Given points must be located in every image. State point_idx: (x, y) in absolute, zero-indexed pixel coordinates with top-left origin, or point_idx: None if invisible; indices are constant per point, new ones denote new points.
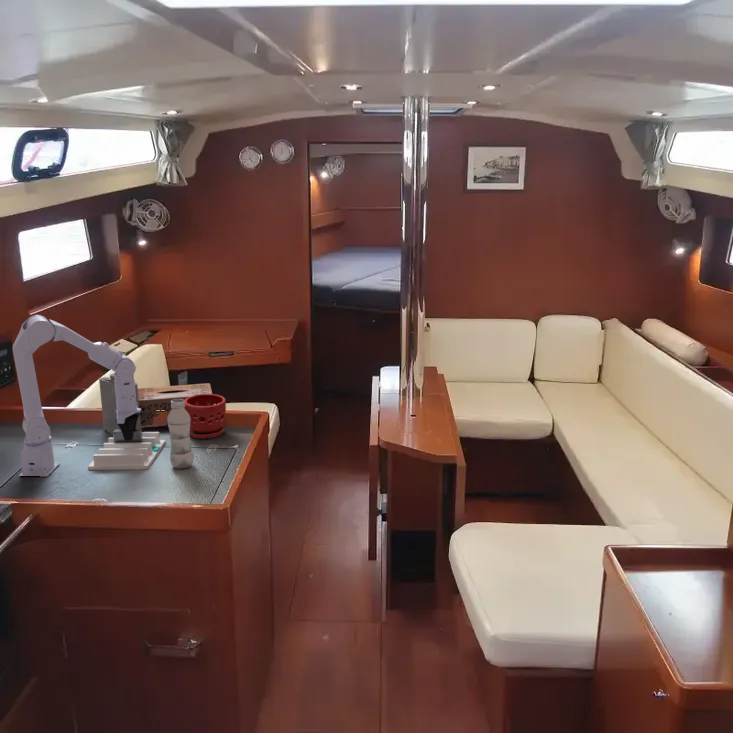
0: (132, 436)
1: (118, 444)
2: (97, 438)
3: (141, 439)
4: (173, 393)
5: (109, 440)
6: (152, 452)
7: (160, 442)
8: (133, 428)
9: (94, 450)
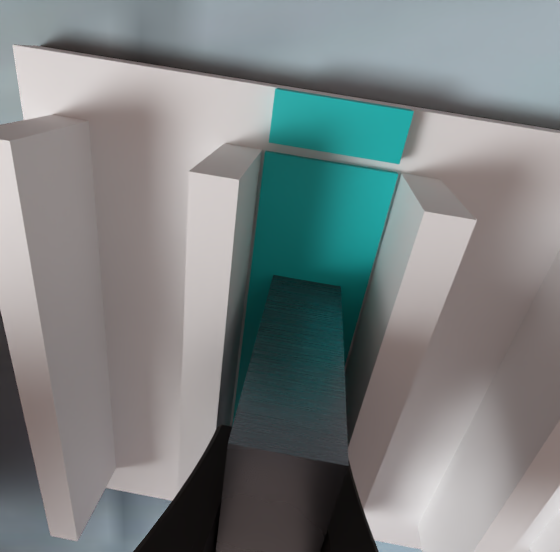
0: None
1: None
2: (12, 515)
3: (304, 347)
4: None
5: None
6: (426, 168)
7: (99, 101)
8: (210, 541)
9: None
